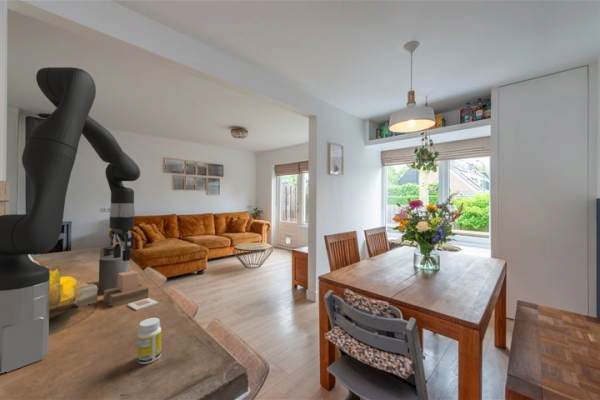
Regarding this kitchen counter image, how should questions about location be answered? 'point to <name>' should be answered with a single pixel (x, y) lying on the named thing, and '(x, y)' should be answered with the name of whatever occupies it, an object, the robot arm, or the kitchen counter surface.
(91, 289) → the birch block
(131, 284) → the terracotta block
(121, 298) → the walnut block
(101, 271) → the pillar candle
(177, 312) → the kitchen counter surface
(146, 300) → the card
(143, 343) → the supplement bottle
